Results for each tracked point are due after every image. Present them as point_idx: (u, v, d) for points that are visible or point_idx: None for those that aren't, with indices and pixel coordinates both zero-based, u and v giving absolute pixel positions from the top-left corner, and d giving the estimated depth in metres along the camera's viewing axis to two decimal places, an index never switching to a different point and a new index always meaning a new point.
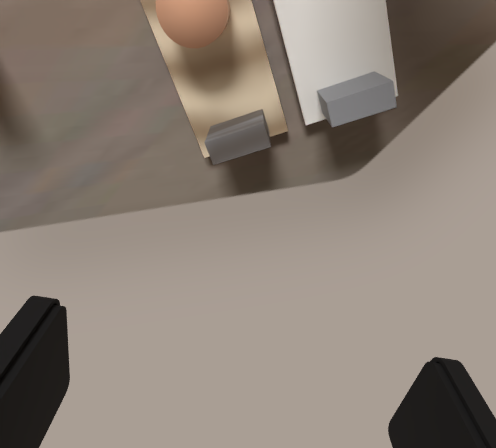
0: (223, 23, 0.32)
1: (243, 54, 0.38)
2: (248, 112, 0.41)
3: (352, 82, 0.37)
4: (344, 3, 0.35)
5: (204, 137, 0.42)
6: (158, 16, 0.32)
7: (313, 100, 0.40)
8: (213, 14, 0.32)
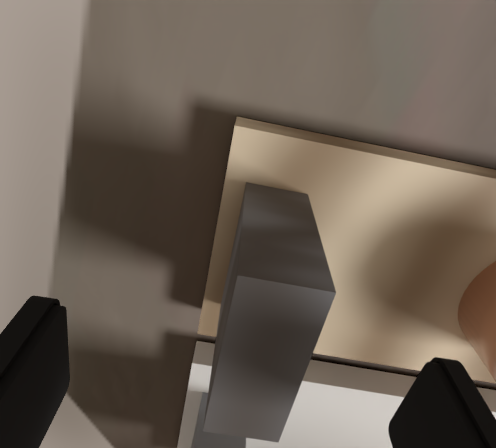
0: None
1: (394, 330, 0.17)
2: None
3: None
4: None
5: (290, 161, 0.14)
6: None
7: None
8: None
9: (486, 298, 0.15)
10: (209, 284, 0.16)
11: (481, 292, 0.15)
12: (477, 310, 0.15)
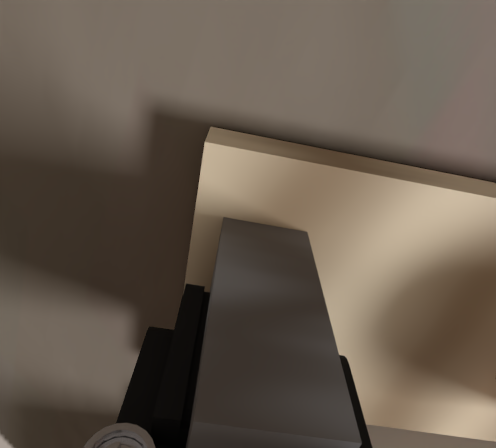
0: None
1: (415, 391, 0.14)
2: None
3: None
4: None
5: (283, 189, 0.10)
6: None
7: None
8: None
9: None
10: None
11: None
12: None
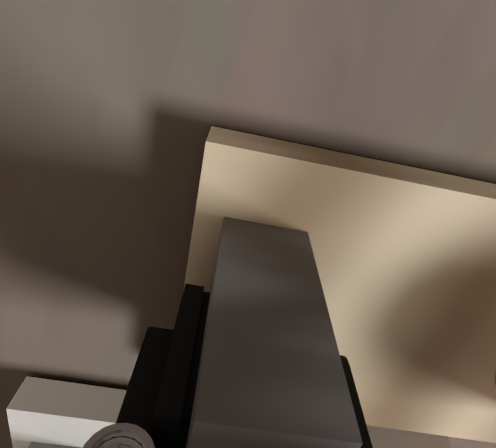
0: None
1: (414, 392, 0.14)
2: None
3: None
4: None
5: (283, 189, 0.10)
6: None
7: (68, 437, 0.15)
8: None
9: None
10: None
11: None
12: None
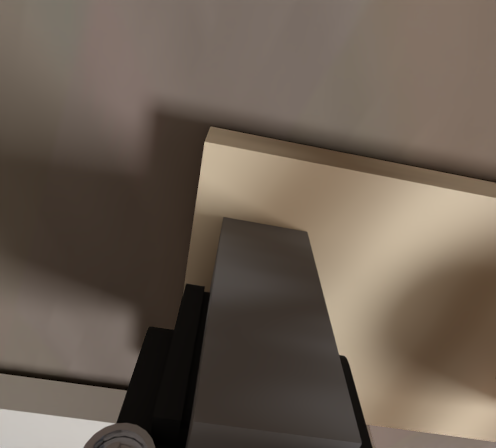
0: None
1: (415, 391, 0.14)
2: None
3: None
4: None
5: (283, 189, 0.10)
6: None
7: None
8: None
9: None
10: None
11: None
12: None
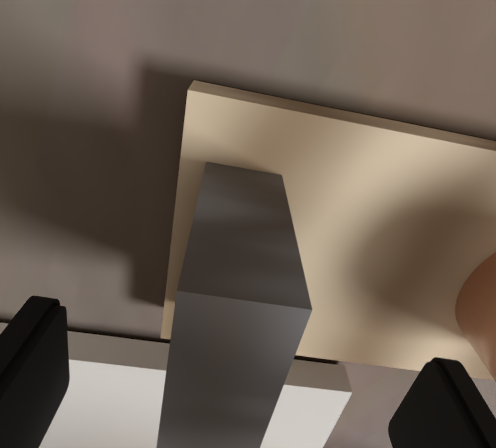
0: None
1: (384, 328, 0.15)
2: None
3: None
4: None
5: (259, 134, 0.11)
6: None
7: None
8: None
9: (490, 293, 0.13)
10: (170, 282, 0.14)
11: (484, 286, 0.13)
12: (479, 306, 0.13)
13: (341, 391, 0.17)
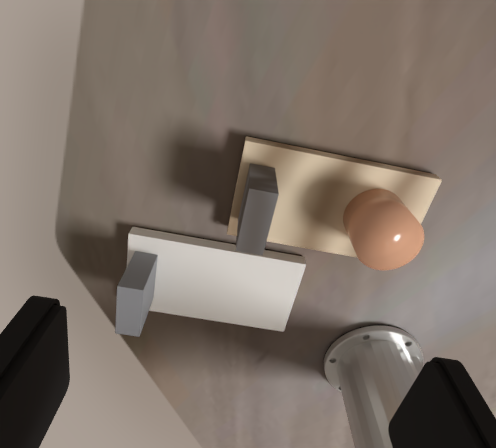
0: (360, 259, 0.34)
1: (316, 231, 0.38)
2: None
3: (151, 288, 0.40)
4: (215, 296, 0.43)
5: (267, 154, 0.35)
6: (406, 215, 0.32)
7: (149, 248, 0.40)
8: (373, 255, 0.34)
9: (349, 211, 0.36)
10: (233, 208, 0.37)
11: (348, 209, 0.36)
12: (346, 217, 0.36)
13: (301, 264, 0.40)
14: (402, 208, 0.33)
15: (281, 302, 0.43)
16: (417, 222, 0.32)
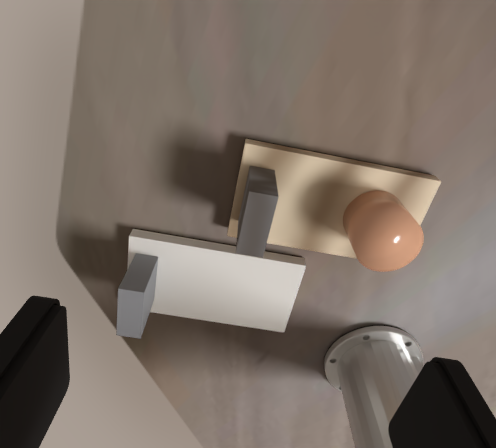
0: (360, 260, 0.34)
1: (316, 232, 0.38)
2: None
3: (152, 290, 0.40)
4: (215, 297, 0.43)
5: (267, 156, 0.35)
6: (405, 217, 0.32)
7: (150, 250, 0.40)
8: (372, 257, 0.34)
9: (349, 213, 0.36)
10: (233, 210, 0.37)
11: (348, 211, 0.36)
12: (346, 218, 0.36)
13: (301, 265, 0.41)
14: (401, 210, 0.33)
15: (281, 303, 0.43)
16: (416, 224, 0.32)
